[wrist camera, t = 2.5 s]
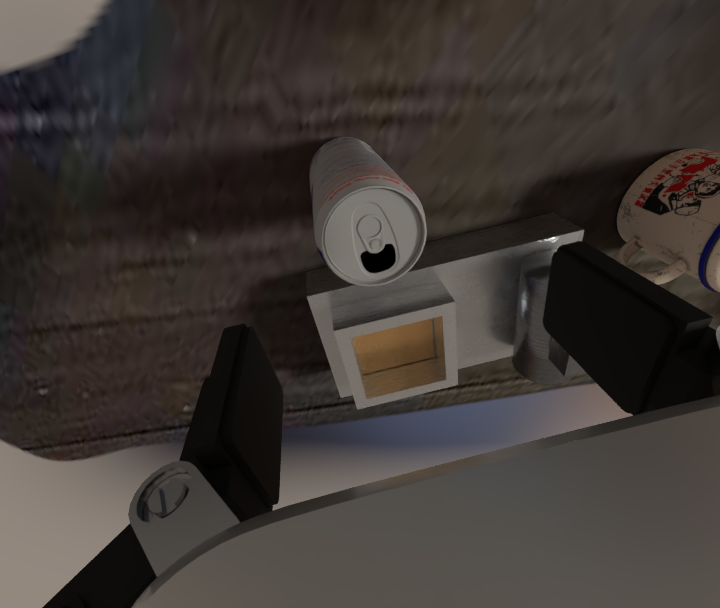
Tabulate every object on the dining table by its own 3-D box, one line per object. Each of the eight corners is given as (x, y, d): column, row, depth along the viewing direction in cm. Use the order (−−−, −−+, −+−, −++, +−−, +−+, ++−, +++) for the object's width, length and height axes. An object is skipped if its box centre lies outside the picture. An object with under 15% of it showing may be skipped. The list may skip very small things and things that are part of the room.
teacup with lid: (709, 118, 27) (932, 143, 18) (718, 204, 32) (898, 261, 22) (568, 215, 30) (693, 282, 21) (595, 281, 35) (707, 360, 25)
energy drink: (322, 219, 27) (336, 303, 17) (297, 149, 24) (297, 203, 14) (387, 198, 27) (438, 271, 17) (370, 125, 24) (420, 162, 14)
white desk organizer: (337, 368, 36) (349, 466, 27) (305, 271, 29) (308, 359, 20) (537, 319, 37) (615, 399, 28) (552, 212, 30) (663, 273, 21)
